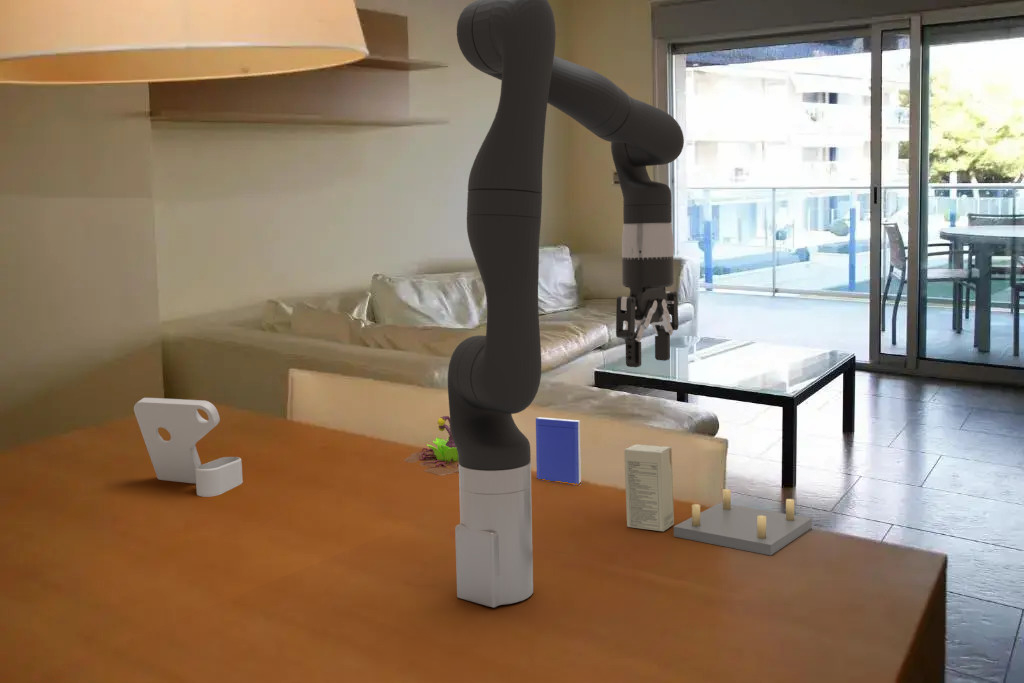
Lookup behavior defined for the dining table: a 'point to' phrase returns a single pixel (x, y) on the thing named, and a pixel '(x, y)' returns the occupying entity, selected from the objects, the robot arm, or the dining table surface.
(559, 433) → the hard drive
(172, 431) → the phone holder
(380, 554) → the dining table surface
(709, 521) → the standoff plate
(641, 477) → the skincare box
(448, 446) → the plant
